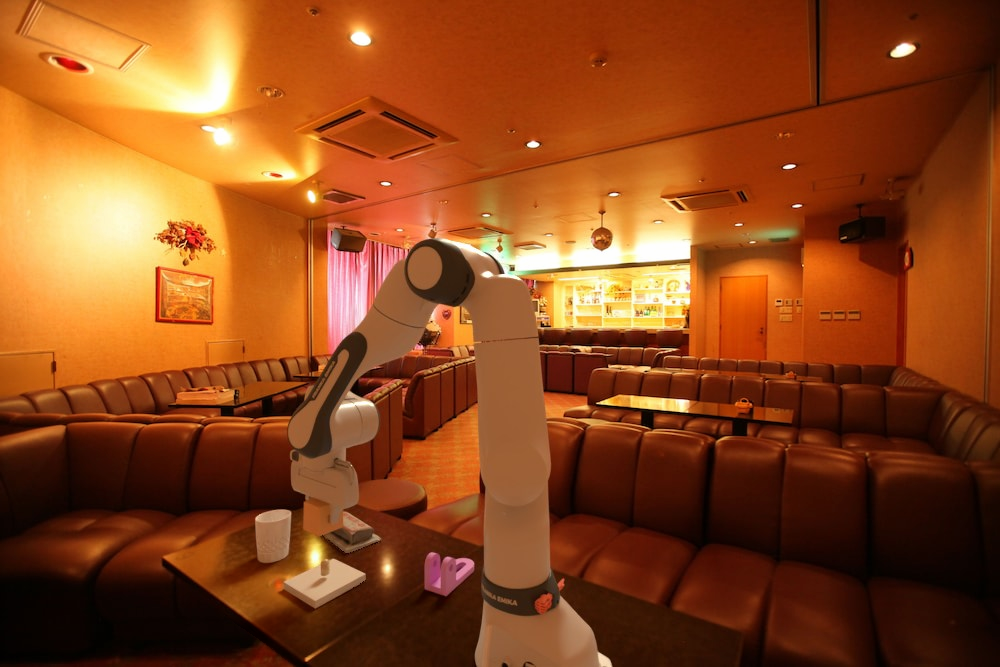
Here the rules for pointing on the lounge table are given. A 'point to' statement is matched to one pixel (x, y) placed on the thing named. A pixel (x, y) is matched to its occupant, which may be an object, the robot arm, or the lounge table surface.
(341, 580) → the pin plate
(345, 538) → the packaged product
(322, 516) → the solid orange cube
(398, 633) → the lounge table surface
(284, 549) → the white cup
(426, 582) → the bracket
